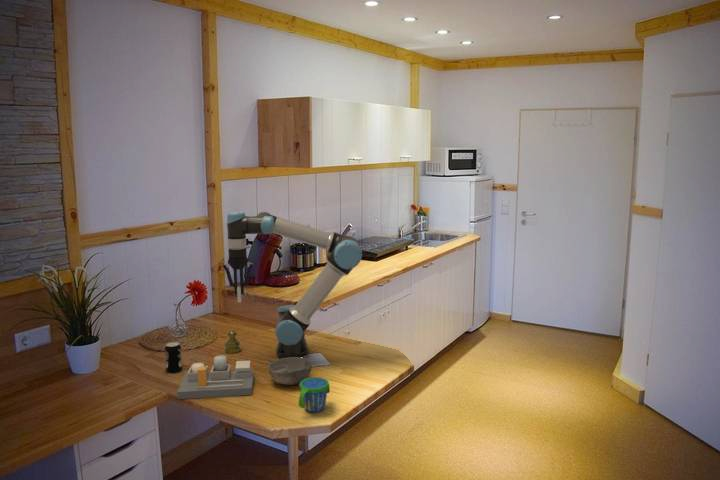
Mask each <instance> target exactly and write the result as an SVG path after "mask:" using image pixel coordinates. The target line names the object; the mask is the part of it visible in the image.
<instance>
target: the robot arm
mask: <svg viewBox="0 0 720 480" xmlns="http://www.w3.org/2000/svg"><path fill="white" fill-rule="evenodd" d="M226 215H227V216H226V218H227V219H226V227H227V246H228V250H227V251H228V259H227V262H225V263H223V265H222V268H223V269H224V270H225V274H226V277H227V280H228V283H229V286H230V287H233V288H234V295H236V296H237V303H242V300H243V297H242V295H244V293H245V287H246V286H248V284H249V279H250V274H251V270H252V268H253V266H254V263H253V262H250V261H249V259H248V257H247V253H248V252H247V248H246V247H247V235H270V234H276V235H278V236H282V237H285V238H288V239H291V240H295V241H297V242H301V243H304V244H307V245H310V246H314V247H317V248H320V249H322V250H325V251H326V253H328V254H329V255H328V256H327V257H326V264H325V266H324V267H323V269H321V271H320V273H318V275H317V276H316V278H315V279H314V280H313V282H312V283H311V284H310V286H309V287H308V288H307V290H306V291H305V292H304V294H303V295H302V296H301V297H300V298H299V300H298V302H297V303H296V304H287V305H281V306H279V307H278V311H277V313H278V321H277V324H276V326H275V332H274V333H275V338H276V339H277V340H278V341H277V345H276V349H275V355H276V357H277V358H279V359H282V358H289V357H303V358H305V357H307V356H309V354H310V350H309V349H310V348H309V346H308V343H307V340H306V336H305V333H306V330H307V329H308V328H309V327H310V326H311V324H312V323H311V318H312V317H313V316H314V315H315V313H316V312H317V310H318V309H319V307H320V306H321V305H322V304H323V303H324V301H325V299H327V298H328V296H329V294H331V292H332V291H333V289H334V288H335V287H336V285H337V284H338V282H340V280H341V279H342V277H344V276H348V275H349V274H350V273H351V271H352V270H353V269H354V268H356V267H357V266H359V264H360V262H361V261H362V257H363V250H362V247H361V245H360V243H359V241H358V240H357V239H356V238H354V237H352V236H350V235H345V234H341V233H336V232H333V231H332V232H331V233H329V232H327V231H323V230H321V229H317V228H314V227H311V226H307V225H306V224H305V225H304V224H301V223H299V222H295V221H292V220H288V219H286V218H282V217H279V216H275V215H273V214H270V213H269V212H267V211H262V212H259V213H257V215H256V216H253V215H252V216H248V215H246V212H244V211H240V210H239V211H238V210H237V211H230V212H227V214H226ZM229 267H231V268H232V270H233V278H232V274H231V271H230V268H229ZM245 267H247V270H246V271H247V272H246V274H245V275H246V276H245V280H244V269H245ZM238 270H239V281H240V285H238ZM306 355H307V356H306ZM304 356H305V357H304Z"/></svg>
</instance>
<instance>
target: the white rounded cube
mask: <svg viewBox="0 0 720 480" xmlns="http://www.w3.org/2000/svg"><path fill="white" fill-rule="evenodd" d="M204 366H205V363H203V362H194V363H192V364H191V367H192V373H195V372H198V368H199V367H204Z"/></svg>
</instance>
